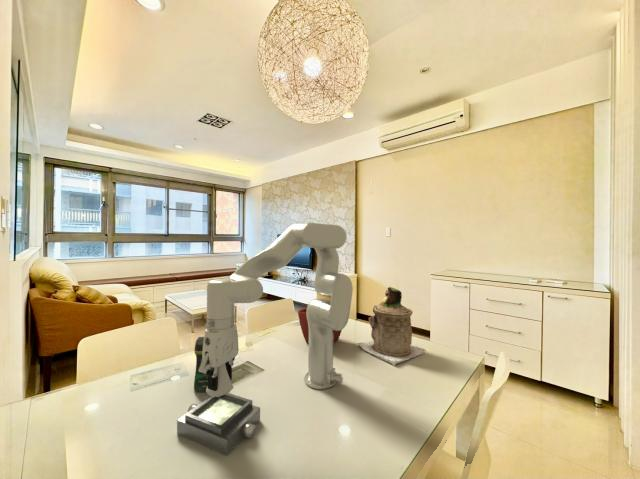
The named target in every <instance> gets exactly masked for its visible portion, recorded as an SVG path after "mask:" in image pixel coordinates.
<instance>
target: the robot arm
mask: <svg viewBox="0 0 640 479" xmlns="http://www.w3.org/2000/svg"><path fill="white" fill-rule="evenodd" d="M347 237H348V236H347V233H346V231H345V229H344V228H343V227H342V226H341V225H338V224H327V223H317V222H295V223H293V224H291V225H290V226H288V227H287V228H286V229H285V230H284V231H283V232H282V233H281V234H280V235H279V236H278V238H276V239H275V240H274V242H272V243H271V244H270V245H269V246H268V247H267V248H266V249H264V250H262V251H261V252H258V254H256V255H255V256H252V257H251V258H249V259H248V260H247V261H244V263H242V265H241V266H239V267H238V268H237V269H236V270H235V271H234V272H233V273H232V274H231V275H230V276H229V278H218V279H217V278H216V279H212V280H210V281H209V282H207V286H206V323H205V324H204V327H205V331H204V335H203V337H204V341H203V352H202V360H203V361H202V363H201V365H200V367H199V370H198V371H199V372H202V373H204V374H205V375H206V376H208V389H210V390H213V391H217V389H218V376H216V374H217V369H218V367H220V366H221V365H223V364H225V365H226V370H227V372H228V375H229V378H230V380H231V381H232V380H233V379H232V378H233V367H234V361H235V359H236V357H237V356H238V354H239V350H240V349H239V336H238V335H239V333H238V329H237V327H238V326H237V325H236V323H235V304H250V303H255V302H257V301H259V299H261V297H262V295H263V293H264V287H263V284H262V283H261V281H260V280H258V279H259V278H260V277H262V276H264V275H265V274H267V273H270V272H273V271H274V272H275V271H276V270H280V269H283V268H285V267H286V266H287V265H288V264H289V263H290V262H291V261H292V260H293V259H294V258H295V256H297V254H298V253H300V251H301V250H302V249H303V248H308V249H309V248H313V249H314V250H315V252H316V255H317V257H316V258H317V261H316V262H317V264H316V269H315V270H316V272H315V278H314V283H313V284H314V288H313V289H314V292H316V293H317V294H319V295H321V296H323V297H327V298H330V300H328V299H325V298H320V297H319V298H318V297H317V298H314V299H312V300H310V301H309V302H308V305H307V307H306V308H307V312H306V314H307V321H308V327H309V343H308V363H307V364H308V366H307V367H308V371H307V373H306V374H305V375H304V377H303V381H304V384H306V385H307V386H308V387H309V388H312V389H314V390H315V389H316V390H326V389H330V388H332V387H335V385H336V384H337V382H338V383H341V384H342V383H343V380H344V376H343V374H342V373H338V372H336V367H334V343H333V331H332V330H335V331H339V330H344V329H345V327H346V326H347V324H348V322H349V319H350V314H351V305H352V299H353V298H352V296H353V290H354V289H353V288H354V287H353V282H352V280H351V278H350V277H349V276H348V275H347V274H344V273H339V266H340V257H339V252H338V251H337V249H341V248H342V247H343V246H344V245H345V244H346V242H347ZM211 367H213V371H211Z"/></svg>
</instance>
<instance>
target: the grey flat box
mask: <svg viewBox="0 0 640 479" xmlns="http://www.w3.org/2000/svg"><path fill="white" fill-rule="evenodd" d="M260 422H261V407H259V406H257V405H254V404H253V399H249V398H246V397H242V396H239V395H237V394H236V395H235V394H232V393H230V392H229V393H228V394H225V395H222V396H220V397H214V396H208V397H207V398H206V399H205V400H202V402H201V403H199V404H197V403H192V404H190V406H188V409H187V413H185V414H183V415H182V416H180V417H179V418H178V419H177V420H176V435H178V436H180V437H183V438H185V439H188V440H189V441H192V442H195V443H197V444H199V445H202V446H203V447H206V448H209V449H211V450H213V451H215V452H217V453H220V454H222V455H225V456H228V455H230V453H231V452H233V450H234V449H235V448H236V447H237V445H239V444H240V442H242V440H244V438H245V437H246V438H248V439H252V438H253V436H254V435H255V432H256V426H257V425H258V423H260Z"/></svg>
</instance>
